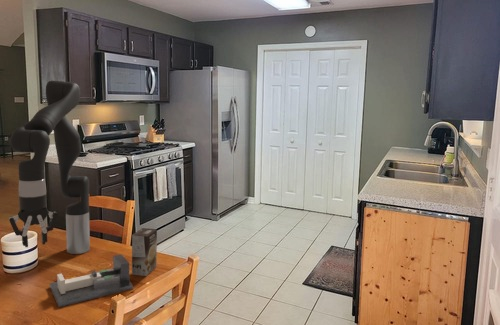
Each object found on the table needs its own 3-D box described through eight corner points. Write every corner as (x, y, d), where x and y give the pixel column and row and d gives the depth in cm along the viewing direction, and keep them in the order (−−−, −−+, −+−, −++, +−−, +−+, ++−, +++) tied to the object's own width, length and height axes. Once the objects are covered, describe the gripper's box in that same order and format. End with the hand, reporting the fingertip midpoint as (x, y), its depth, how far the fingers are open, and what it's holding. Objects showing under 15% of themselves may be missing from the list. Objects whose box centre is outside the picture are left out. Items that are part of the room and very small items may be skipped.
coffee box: (146, 276, 146) (147, 236, 144) (131, 274, 147) (131, 234, 145) (157, 266, 155) (157, 229, 153) (142, 265, 156) (142, 227, 154)
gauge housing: (49, 287, 135) (49, 264, 134) (118, 271, 149) (118, 251, 148) (58, 307, 122) (57, 282, 121) (132, 288, 136) (132, 266, 135)
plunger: (57, 287, 132) (57, 274, 131) (98, 278, 139) (97, 266, 139) (60, 294, 127) (60, 280, 126) (102, 284, 135) (102, 271, 134)
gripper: (55, 188, 127) (57, 237, 130) (4, 193, 119) (7, 245, 121) (60, 193, 121) (61, 244, 124) (7, 198, 113) (10, 253, 116)
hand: (34, 244), depth 123 cm, fingers open, 4 cm apart
